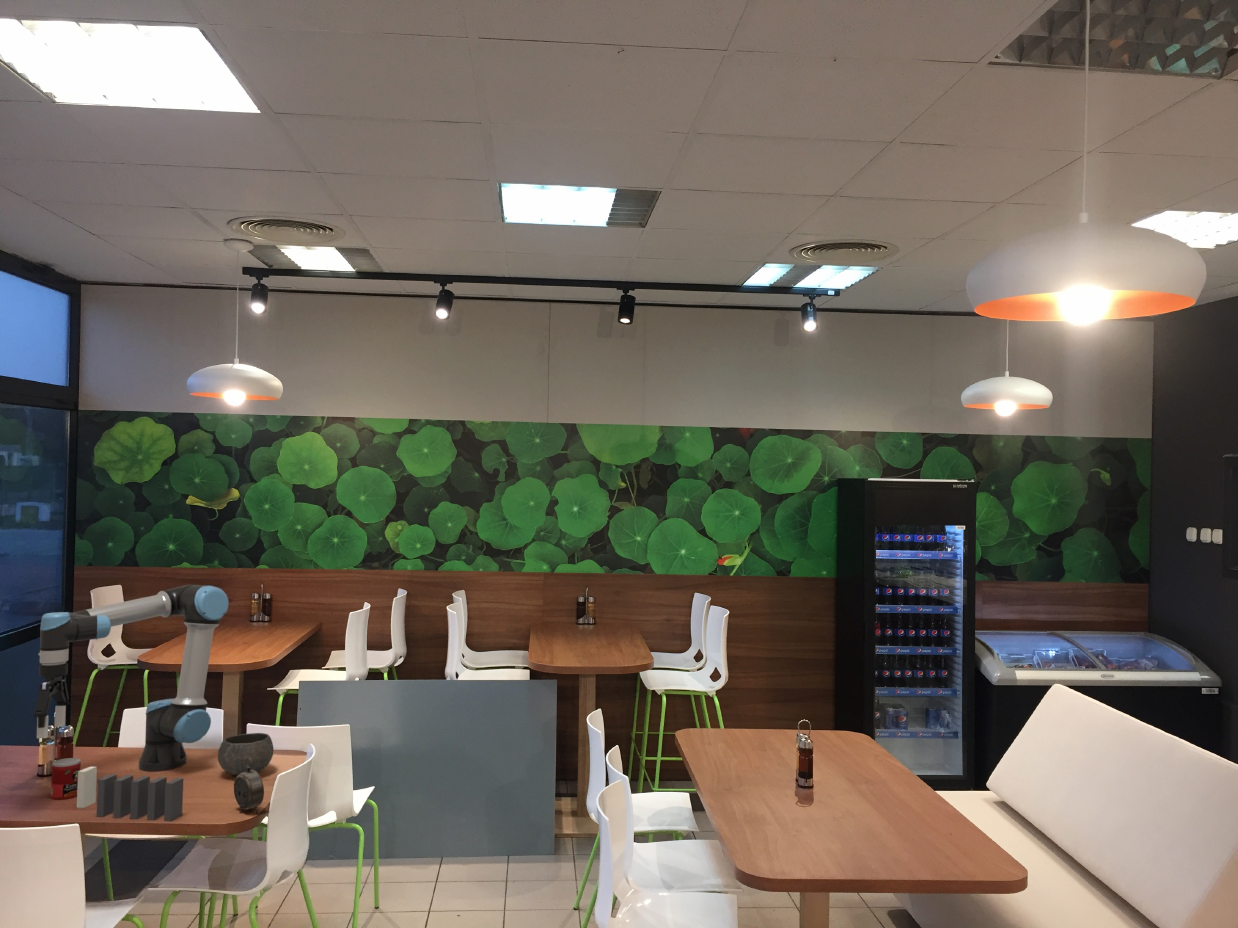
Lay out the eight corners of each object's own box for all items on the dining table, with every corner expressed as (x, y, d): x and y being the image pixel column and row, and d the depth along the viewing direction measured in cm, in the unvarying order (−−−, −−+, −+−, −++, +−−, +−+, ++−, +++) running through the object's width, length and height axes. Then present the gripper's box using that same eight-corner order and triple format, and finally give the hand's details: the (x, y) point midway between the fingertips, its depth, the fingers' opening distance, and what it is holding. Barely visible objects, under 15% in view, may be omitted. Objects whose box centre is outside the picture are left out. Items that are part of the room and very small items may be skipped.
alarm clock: (264, 813, 264) (266, 758, 265) (247, 817, 260) (249, 762, 261) (246, 805, 271) (248, 752, 272) (229, 809, 267) (231, 755, 268)
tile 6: (164, 820, 257) (165, 783, 257) (175, 814, 262) (176, 777, 263) (171, 821, 257) (172, 783, 257) (182, 815, 262) (183, 778, 262)
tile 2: (96, 816, 260) (97, 779, 260) (108, 810, 265) (110, 773, 266) (103, 817, 260) (104, 779, 260) (115, 811, 265) (116, 774, 265)
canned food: (65, 800, 273) (67, 765, 274) (44, 798, 275) (45, 763, 275) (85, 793, 281) (86, 758, 281) (64, 791, 282) (65, 756, 283)
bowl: (226, 785, 290) (228, 747, 290) (210, 772, 303) (211, 736, 304) (280, 775, 301) (281, 738, 302) (262, 763, 315) (263, 727, 316)
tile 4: (130, 818, 258) (131, 781, 259) (141, 812, 264) (143, 775, 264) (136, 819, 258) (138, 781, 259) (148, 813, 263) (149, 776, 264)
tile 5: (147, 819, 258) (148, 782, 258) (158, 813, 263) (160, 776, 263) (153, 820, 257) (155, 782, 258) (165, 814, 262) (166, 777, 263)
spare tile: (76, 807, 267) (78, 771, 268) (89, 801, 273) (90, 766, 273) (83, 807, 267) (84, 771, 268) (95, 802, 272) (96, 766, 273)
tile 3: (113, 817, 259) (114, 780, 260) (125, 811, 264) (126, 774, 265) (120, 818, 259) (121, 780, 259) (132, 812, 264) (133, 775, 264)
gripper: (56, 656, 282) (53, 722, 281) (22, 670, 257) (19, 743, 256) (82, 655, 283) (79, 721, 282) (51, 669, 259) (48, 742, 258)
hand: (51, 732), depth 269 cm, fingers open, 13 cm apart
